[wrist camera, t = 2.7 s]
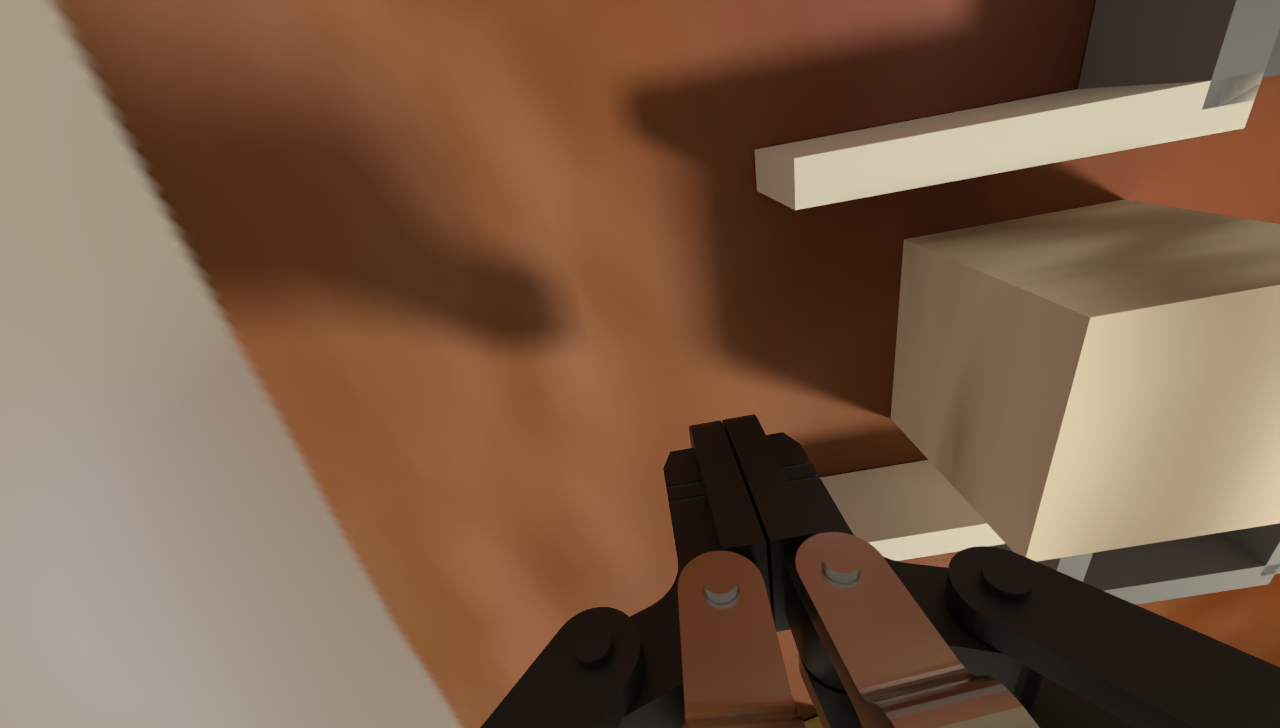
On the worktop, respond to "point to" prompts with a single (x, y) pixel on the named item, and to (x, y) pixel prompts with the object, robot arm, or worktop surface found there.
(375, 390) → the worktop surface
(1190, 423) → the birch block
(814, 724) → the cheese
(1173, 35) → the trap box
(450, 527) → the worktop surface
